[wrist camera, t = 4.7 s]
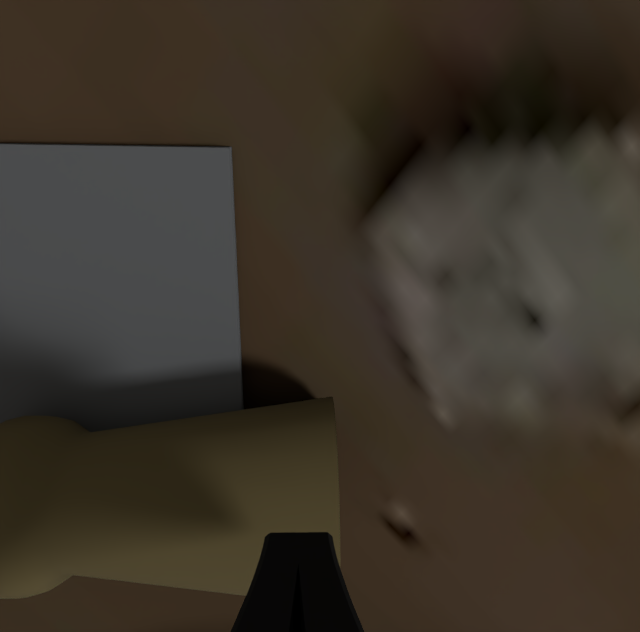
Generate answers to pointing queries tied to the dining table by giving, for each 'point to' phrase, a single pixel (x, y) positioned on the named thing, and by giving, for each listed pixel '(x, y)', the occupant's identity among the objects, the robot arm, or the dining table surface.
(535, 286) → the dining table surface
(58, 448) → the cork
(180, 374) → the mat
